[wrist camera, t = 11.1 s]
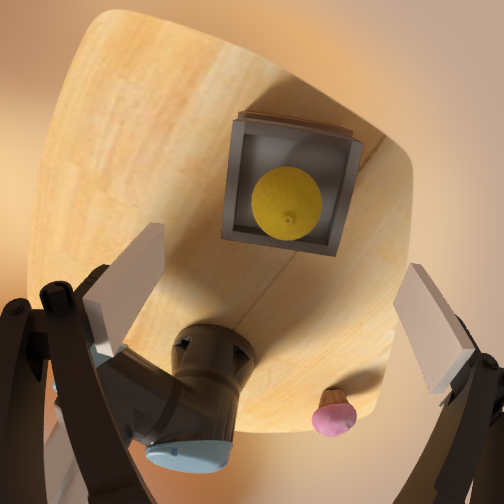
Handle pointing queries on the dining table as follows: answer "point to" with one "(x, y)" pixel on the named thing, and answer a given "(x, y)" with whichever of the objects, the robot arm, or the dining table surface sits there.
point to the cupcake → (333, 414)
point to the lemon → (286, 203)
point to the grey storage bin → (292, 155)
